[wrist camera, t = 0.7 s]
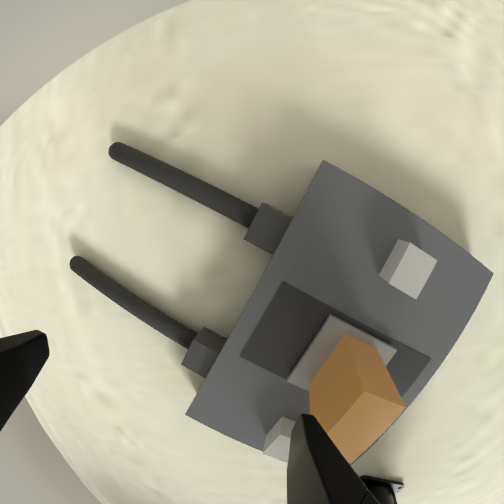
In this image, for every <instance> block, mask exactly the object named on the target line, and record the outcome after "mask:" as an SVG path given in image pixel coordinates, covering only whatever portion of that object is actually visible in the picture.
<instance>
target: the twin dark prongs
mask: <svg viewBox="0 0 504 504" xmlns="http://www.w3.org/2000/svg"><path fill="white" fill-rule="evenodd" d="M109 156H110V157H111V158H112V159H114V160H116V161H118V162H120V163H122V164H124V165H126V166H128V167H130V168H132V169H134V170H136V171H138V172H140V173H142V174H144V175H146V176H148V177H150V178H152V179H154V180H156V181H158V182H160V183H162V184H164V185H166V186H168V187H170V188H172V189H174V190H176V191H178V192H180V193H182V194H183V195H185V196H187V197H189V198H191V199H193V200H195V201H197V202H199V203H201V204H203V205H205V206H207V207H209V208H211V209H213V210H215V211H216V212H218V213H220V214H222V215H224V216H226V217H228V218H230V219H232V220H234V221H236V222H238V223H239V224H241V225H243V226H245V227H247V228H249V227H250V225H251V223H252V221H253V219H254V218H255V216H256V214H257V212H258V210H259V209H258V208H256V207H254V206H252V205H250V204H248V203H246V202H244V201H242V200H240V199H238V198H236V197H234V196H232V195H230V194H228V193H226V192H224V191H222V190H220V189H218V188H216V187H214V186H212V185H210V184H208V183H206V182H204V181H202V180H200V179H198V178H196V177H194V176H192V175H190V174H187V173H185V172H183V171H181V170H179V169H177V168H175V167H173V166H171V165H169V164H166V163H164V162H162V161H160V160H158V159H156V158H154V157H151V156H149V155H147V154H145V153H143V152H141V151H138V150H136V149H134V148H132V147H130V146H127V145H125V144H123V143H120V142H116V143H113V144H112V145H111V146H110V148H109ZM70 268H71V269H72V271H74V272H75V273H76V274H77V275H79V276H80V277H81V278H83V279H84V280H85V281H87V282H88V283H89V284H91V285H92V286H93V287H95V288H96V289H97V290H99V291H100V292H101V293H103V294H104V295H106V296H107V297H108V298H110V299H111V300H112V301H114V302H115V303H117V304H118V305H120V306H121V307H123V308H124V309H125V310H127V311H128V312H130V313H131V314H133V315H134V316H136V317H137V318H139V319H140V320H142V321H143V322H145V323H146V324H148V325H150V326H151V327H153V328H154V329H156V330H157V331H159V332H161V333H162V334H164V335H165V336H167V337H169V338H170V339H172V340H174V341H175V342H177V343H179V344H180V345H182V346H184V347H185V348H187V349H189V347H190V345H191V343H192V341H193V339H194V338H195V337H196V336H197V334H198V333H196V332H194V331H193V330H191V329H189V328H187V327H186V326H184V325H182V324H181V323H179V322H177V321H176V320H174V319H172V318H171V317H169V316H167V315H166V314H164V313H163V312H161V311H159V310H158V309H156V308H155V307H153V306H151V305H150V304H148V303H147V302H145V301H144V300H142V299H140V298H139V297H137V296H136V295H134V294H133V293H131V292H130V291H128V290H127V289H125V288H124V287H122V286H121V285H119V284H118V283H117V282H115V281H114V280H112V279H111V278H109V277H108V276H106V275H105V274H104V273H102V272H101V271H99V270H98V269H97V268H95V267H94V266H92V265H91V264H90V263H88V262H87V261H86V260H84V259H83V258H82V257H80V256H74V257H73V258H72V259H71V260H70Z"/></svg>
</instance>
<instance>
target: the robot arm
mask: <svg viewBox="0 0 504 504" xmlns="http://www.w3.org/2000/svg"><path fill="white" fill-rule="evenodd" d="M48 357H49V346H48V340H47V336H46V334H45V333H43V332H41V331H39V330H33V331H29V332H25V333H21V334H16V335H12V336H8V337H3V338H0V431H1V430H2V428H3V427H4V425H5V424H6V422H7V421H8V419H9V418H10V416H11V415H12V413H13V412H14V410H15V409H16V407H17V406H18V405H19V403H20V402H21V400H22V399H23V397H24V396H25V395H26V393H27V392H28V390H29V389H30V388H31V386H32V384H33V383H34V381H35V379H36V378H37V376H38V374H39V372H40V371H41V369H42V367H43V366H44V364H45V362H46V361H47V359H48ZM403 488H404V484H403V483H400V482H394V481H388V480H383V479H378V478H373V477H369V476H362V477H360V478H359V476H358V475H357V474H356V472H355V471H354V470H353V468H352V467H351V466H350V464H349V463H348V462H347V460H346V459H345V458H344V456H343V455H342V454H341V452H340V451H339V450H338V448H337V447H336V445H335V444H334V443H333V441H332V440H331V439H330V437H329V436H328V434H327V433H326V432H325V430H324V429H323V427H322V426H321V425H320V423H319V422H318V420H317V419H316V418H315V416H314V415H312V414H304V413H302V414H300V415H299V417H298V419H297V421H296V423H295V425H294V427H293V429H292V432H291V439H290V449H289V458H288V467H287V504H397V501H396V497H395V494H396V493H397V492H399V491H400V490H401V489H403Z"/></svg>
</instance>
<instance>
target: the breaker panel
mask: <svg viewBox="0 0 504 504" xmlns="http://www.w3.org/2000/svg"><path fill="white" fill-rule="evenodd" d="M244 240H246V241H248V242H250V243H252V244H254V245H256V246H257V247H259V248H261V249H263V250H265V251H267V252H269V253H271V254H272V255H273V257H272V259H271V261H270V262H269V264H268V266H267V268H266V270H265V272H264V274H263V275H262V277H261V279H260V281H259V283H258V285H257V287H256V288H255V290H254V292H253V294H252V296H251V298H250V299H249V301H248V303H247V305H246V307H245V309H244V310H243V312H242V314H241V316H240V318H239V320H238V321H237V323H236V325H235V327H234V329H233V330H232V332H231V334H230V336H229V338H228V340H227V339H225V338H223V337H222V336H220V335H218V334H216V333H214V332H213V331H211V330H209V329H207V328H205V327H203V328H202V330H201V331H200V332H199V333H198V334H197V336H196V337H195V338H194V339H193V341H192V343H191V345H190V347H189V349H188V351H187V353H186V355H185V357H184V360H183V362H182V364H181V365H183V366H185V367H186V368H188V369H190V370H192V371H193V372H195V373H197V374H199V375H201V376H202V377H204V378H206V379H205V381H204V382H203V384H202V386H201V388H200V389H199V391H198V393H197V395H196V396H195V398H194V400H193V402H192V403H191V405H190V407H189V409H188V410H187V412H186V414H185V415H187V416H189V417H191V418H192V419H194V420H196V421H198V422H200V423H202V424H204V425H206V426H208V427H210V428H212V429H214V430H216V431H218V432H220V433H222V434H224V435H226V436H229V437H231V438H233V439H235V440H237V441H240V442H242V443H244V444H247V445H249V446H251V447H254V448H256V449H258V450H261V451H263V454H266V455H268V456H271V457H273V458H276V459H279V460H282V461H284V462H287V463H288V458H289V449H290V439H291V432H292V429H293V427H294V425H295V423H296V421H297V419H298V417H299V415H300V414H302V413H304V414H310V397H309V391H307V390H305V389H302V388H300V387H298V386H296V385H294V384H291V383H289V382H287V378H288V377H289V375H290V374H291V372H292V371H293V369H294V368H295V367H296V365H297V364H298V362H299V361H300V359H301V358H302V356H303V355H304V353H305V352H306V350H307V349H308V348H309V346H310V344H311V343H312V341H313V340H314V338H315V337H316V335H317V334H318V332H319V331H320V329H321V328H322V326H323V324H324V323H325V321H326V320H327V318H328V317H329V315H330V314H331V315H333V316H335V317H336V318H338V319H340V320H342V321H344V322H346V323H348V324H350V325H352V326H354V327H356V328H358V329H360V330H362V331H364V332H366V333H368V334H369V335H371V336H373V337H375V338H377V339H379V340H381V341H383V342H385V343H387V344H389V345H391V346H393V347H395V348H396V349H397V351H396V353H395V354H394V356H393V357H392V359H391V360H390V361H389V363H388V364H387V365H386V368H387V370H388V372H389V374H390V376H391V378H392V380H393V382H394V384H395V386H396V388H397V390H398V392H399V394H400V396H401V398H402V400H403V402H404V404H405V407H406V408H405V409H404V410H403V412H404V411H405V410H406V409H407V407H408V406H409V405H410V404H411V403H412V401H413V400H414V399H415V398H416V397H417V395H418V394H419V393H420V392H421V390H422V389H423V388H424V387H425V385H426V384H427V383H428V381H429V380H430V379H431V377H432V376H433V375H434V373H435V372H436V371H437V369H438V368H439V366H440V365H441V364H442V362H443V361H444V359H445V358H446V356H447V355H448V353H449V352H450V350H451V349H452V347H453V346H454V344H455V343H456V341H457V340H458V338H459V336H460V335H461V333H462V332H463V330H464V328H465V327H466V325H467V323H468V321H469V320H470V318H471V316H472V314H473V313H474V311H475V309H476V307H477V305H478V304H479V302H480V300H481V298H482V296H483V294H484V292H485V290H486V288H487V286H488V284H489V282H490V280H491V278H492V276H493V273H492V272H491V271H490V270H489V269H488V268H486V267H485V266H484V265H483V264H482V263H480V262H479V261H478V260H477V259H475V258H474V257H473V256H472V255H470V254H469V253H468V252H466V251H465V250H464V249H463V248H461V247H460V246H459V245H457V244H456V243H455V242H453V241H452V240H451V239H449V238H448V237H447V236H445V235H444V234H442V233H441V232H440V231H438V230H437V229H435V228H434V227H433V226H431V225H430V224H428V223H427V222H425V221H424V220H422V219H421V218H420V217H418V216H417V215H415V214H414V213H412V212H411V211H409V210H408V209H406V208H404V207H403V206H401V205H400V204H398V203H397V202H395V201H394V200H392V199H390V198H389V197H387V196H386V195H384V194H382V193H381V192H379V191H377V190H376V189H374V188H372V187H371V186H369V185H367V184H366V183H364V182H362V181H361V180H359V179H357V178H355V177H354V176H352V175H350V174H348V173H346V172H345V171H343V170H341V169H339V168H337V167H336V166H334V165H332V164H330V163H328V162H326V161H324V160H323V161H322V163H321V165H320V167H319V169H318V171H317V173H316V175H315V177H314V179H313V180H312V182H311V184H310V186H309V188H308V190H307V192H306V194H305V196H304V198H303V200H302V202H301V204H300V206H299V208H298V209H297V211H296V213H295V215H294V217H293V218H292V217H290V216H289V215H287V214H285V213H283V212H281V211H279V210H277V209H275V208H273V207H271V206H269V205H268V204H265V203H262V204H261V206H260V208H259V210H258V212H257V214H256V216H255V218H254V219H253V221H252V223H251V225H250V227H249V229H248V231H247V233H246V235H245V237H244ZM403 412H402V413H403ZM402 413H401V414H402ZM401 414H400V415H401ZM400 415H399V416H398V417H397V418H396V419H395V421H396V420H397V419H398V418H399V417H400ZM395 421H394V422H395ZM394 422H393V423H394ZM393 423H392V424H393ZM392 424H391V425H392ZM391 425H390V426H391ZM390 426H389V427H390ZM389 427H388V428H387V429H386V430H385V431H384V432H383V433H382V434H381V435H380V437H381V436H382V435H383V434H384V433H385V432H386V431H387V430H388V429H389ZM380 437H379V438H380ZM379 438H378V439H379ZM378 439H377V440H378ZM377 440H376V441H377ZM376 441H375V442H376ZM375 442H374V443H375ZM374 443H373V444H374ZM373 444H372V445H373ZM372 445H371V446H372ZM371 446H369V447H368V448H367V449H366V450H365V451H364V452H363V453H362V454H364V453H365V452H366V451H367V450H368V449H369V448H370V447H371ZM362 454H361V455H362ZM361 455H360V456H361ZM360 456H359V457H360ZM359 457H358V458H359ZM358 458H357V459H358ZM357 459H356V460H357ZM356 460H355V461H356ZM355 461H353V462H352V463H349V464H350V465H352V464H353V463H354V462H355Z"/></svg>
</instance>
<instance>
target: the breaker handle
mask: <svg viewBox="0 0 504 504" xmlns="http://www.w3.org/2000/svg"><path fill="white" fill-rule="evenodd" d="M396 351H397V349H396V348H395V347H393V346H391V345H389V344H387V343H385V342H383V341H381V340H379V339H377V338H375V337H373V336H371V335H369V334H368V333H366V332H364V331H362V330H360V329H358V328H356V327H354V326H352V325H350V324H348V323H346V322H344V321H342V320H340V319H338V318H336V317H335V316H333V315H331V314H330V315H329V317H328V318H327V320H326V321H325V323H324V324H323V326H322V328H321V329H320V331H319V332H318V334H317V335H316V337H315V338H314V340H313V341H312V343H311V344H310V346H309V348H308V349H307V350H306V352H305V353H304V355H303V356H302V358H301V359H300V361H299V362H298V364H297V365H296V367H295V368H294V369H293V371H292V372H291V374H290V375H289V377H288V378H287V382H289V383H291V384H294V385H296V386H298V387H300V388H302V389H305V390H307V391H309V397H310V414H312V415H314V416H315V418H316V419H317V420H318V422H319V423H320V425H321V426H322V427H323V429H324V430H325V432H326V433H327V434H328V436H329V437H330V439H331V440H332V441H333V443H334V444H335V445H336V447H337V448H338V450H339V451H340V452H341V454H342V455H343V456H344V458H345V459H346V460H347V462H348V463H352V462H353V461H355V460H356V459H357V458H358V457H359V456H360V455H361V454H362V453H363V452H364V451H365V450H366V449H367V448H368V447H369V446H371V445H372V444H373V443H374V442H375V441H376V440H377V439H378V438H379V437H380V435H381V434H382V433H383V432H384V431H385V430H386V429H387V428H388V427H389V426H390V425H391V424H392V423H393V422H394V421H395V419H396V418H397V417H398V416H399V415H400V414H401V413H402V412H403V410H404V409H405V408H406V407H405V404H404V402H403V400H402V398H401V396H400V394H399V392H398V390H397V388H396V386H395V384H394V382H393V380H392V378H391V376H390V374H389V372H388V370H387V368H386V365H387V364H388V363H389V361H390V360H391V359H392V357H393V356H394V354H395V353H396Z"/></svg>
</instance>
